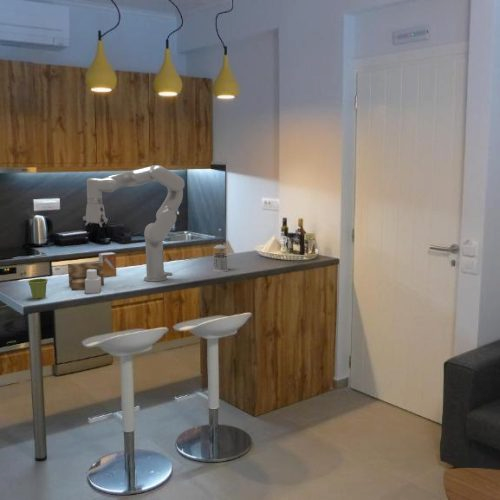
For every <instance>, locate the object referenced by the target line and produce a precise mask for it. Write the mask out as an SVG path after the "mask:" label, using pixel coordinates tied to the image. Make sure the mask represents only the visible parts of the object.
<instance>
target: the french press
mask: <svg viewBox="0 0 500 500" xmlns="http://www.w3.org/2000/svg"><path fill="white" fill-rule="evenodd" d="M221 231H222V228H218V232H221ZM227 248H228V247H227V246H226V245H225V244H221V243H219V244H216V245H215V246H214V247H213V250H219V252H216V253H214V256H213V269H212V271H213V272H228V271H229V268H228V256H227V253H226V252H225V251H224V250H225V249H227ZM221 250H223V251H221Z"/></svg>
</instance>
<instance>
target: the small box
mask: <svg viewBox="0 0 500 500" xmlns="http://www.w3.org/2000/svg"><path fill="white" fill-rule="evenodd" d="M98 263H103V275H104V278H106V277H107V278H108V277H115V276H117V256H116V253H115V252H111V251H110V252H102V253H98Z"/></svg>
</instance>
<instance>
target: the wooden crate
mask: <svg viewBox="0 0 500 500" xmlns="http://www.w3.org/2000/svg"><path fill="white" fill-rule="evenodd" d="M91 268H95V269H98V273H99V277H101V286H104V285H105V282H104V281H105V277H104V275H103V263H99V262H87V263H68V264H67V270H68V271H67V272H68V287H69V288H71V291H83V290H84V291H85V279H86V278H87V277H86V270H87V269H91Z"/></svg>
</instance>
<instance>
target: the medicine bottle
mask: <svg viewBox="0 0 500 500" xmlns="http://www.w3.org/2000/svg"><path fill="white" fill-rule="evenodd" d="M86 277H87V278H86V279H85V290H84V294H100V293H101V291H102V285H101V277H99V273H98V269H95V268H91V269H87V270H86Z"/></svg>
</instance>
